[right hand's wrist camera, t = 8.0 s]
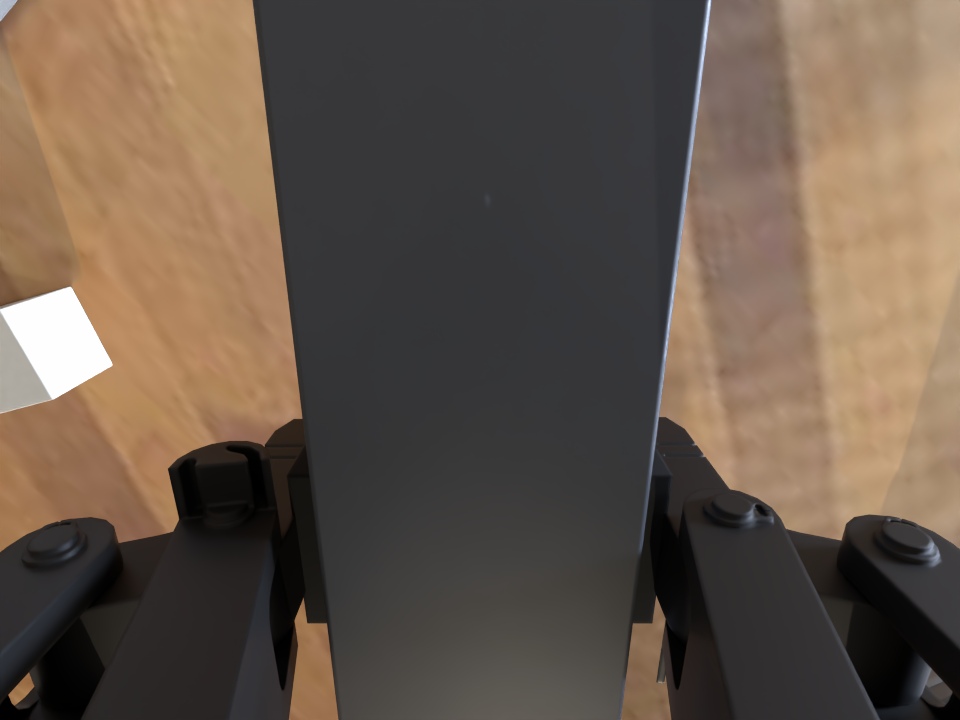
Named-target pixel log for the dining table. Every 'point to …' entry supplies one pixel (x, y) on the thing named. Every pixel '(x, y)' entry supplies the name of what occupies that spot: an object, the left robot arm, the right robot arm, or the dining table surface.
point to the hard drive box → (6, 7)
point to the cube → (46, 349)
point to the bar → (480, 331)
